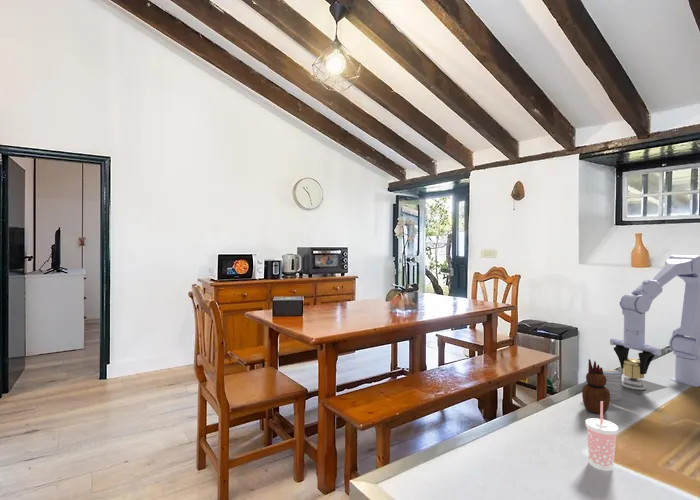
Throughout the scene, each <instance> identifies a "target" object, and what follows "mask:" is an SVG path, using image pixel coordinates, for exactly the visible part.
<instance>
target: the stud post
mask: <svg viewBox="0 0 700 500" xmlns="http://www.w3.org/2000/svg"><path fill="white" fill-rule="evenodd" d="M643 380H644V379H643V378H641V379H637V378H630V377H627V376H624V377H623V380H622V387H624V388H627V389H631V390H637V391H644V390H646V389H647V387H646V385H644V381H643Z"/></svg>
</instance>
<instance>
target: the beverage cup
mask: <svg viewBox="0 0 700 500" xmlns="http://www.w3.org/2000/svg"><path fill="white" fill-rule="evenodd" d="M599 414H600V415H599V416H600V417H599V418H596V417H592V418H591V417H590V418H587V419H585V421H584V422H585V427H586V434H587V453H588V464H589V465H590V466H591V467H593V468H595V469H596V470H599V471H603V472H606V471H607V472H609V471H610V472H611V471H613V470H614V469H615V468H614V467H615V457H616V456H615V455H616V443H617V434H618V433H619V426H618V425H617V424H615V423H614V422H612V421H609V420H606V419H604V413H603V401H601V403H600V413H599Z"/></svg>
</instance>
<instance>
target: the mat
mask: <svg viewBox="0 0 700 500" xmlns="http://www.w3.org/2000/svg"><path fill="white" fill-rule="evenodd" d="M642 380H643V381H644V385H646V387H647V389H646V390H644V391H637V390H631V389H627V388H624V387H622V388H621V391H625V392H628V393H631V394H634V395H637V396H641V395H645V394H648V393H649V394H650V393H651V392H655V391H659V390H663V389H666V388H667V386H665V385H662V384H658V383H655V382H652V381H648V380H645V379H642Z"/></svg>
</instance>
